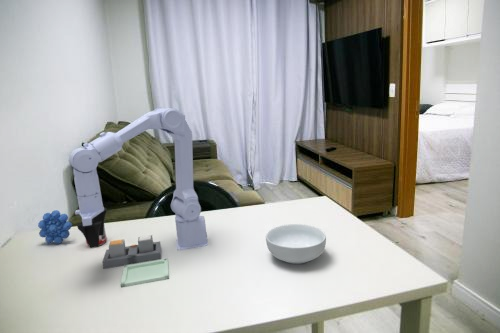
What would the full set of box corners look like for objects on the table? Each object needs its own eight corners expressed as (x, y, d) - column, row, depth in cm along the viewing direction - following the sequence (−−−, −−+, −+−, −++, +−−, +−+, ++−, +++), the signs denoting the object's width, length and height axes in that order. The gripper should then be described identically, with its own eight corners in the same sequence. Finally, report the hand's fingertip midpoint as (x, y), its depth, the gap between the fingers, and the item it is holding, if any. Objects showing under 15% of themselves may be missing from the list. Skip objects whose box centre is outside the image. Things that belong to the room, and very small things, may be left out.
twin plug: (154, 252, 106) (152, 234, 105) (154, 258, 103) (151, 239, 101) (141, 255, 105) (138, 236, 104) (140, 260, 102) (137, 241, 101)
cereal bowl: (331, 248, 102) (331, 226, 101) (318, 277, 88) (317, 252, 86) (278, 241, 110) (277, 220, 108) (257, 266, 95) (256, 242, 93)
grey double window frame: (161, 248, 109) (159, 240, 108) (161, 260, 101) (159, 251, 100) (107, 257, 105) (106, 248, 104) (103, 269, 97) (102, 260, 97)
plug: (126, 257, 104) (124, 238, 103) (125, 262, 101) (122, 243, 100) (113, 259, 103) (110, 240, 102) (111, 265, 100) (108, 245, 99)
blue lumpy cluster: (81, 237, 121) (75, 205, 118) (70, 246, 114) (64, 212, 112) (49, 238, 121) (43, 206, 119) (37, 247, 115) (30, 213, 112)
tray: (168, 262, 100) (167, 258, 99) (169, 280, 90) (168, 275, 90) (125, 269, 97) (124, 265, 97) (121, 288, 87) (120, 284, 87)
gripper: (78, 187, 96) (86, 232, 99) (65, 203, 82) (74, 255, 86) (105, 184, 98) (112, 229, 101) (96, 199, 84) (104, 250, 87)
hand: (96, 240), depth 93 cm, fingers open, 7 cm apart
